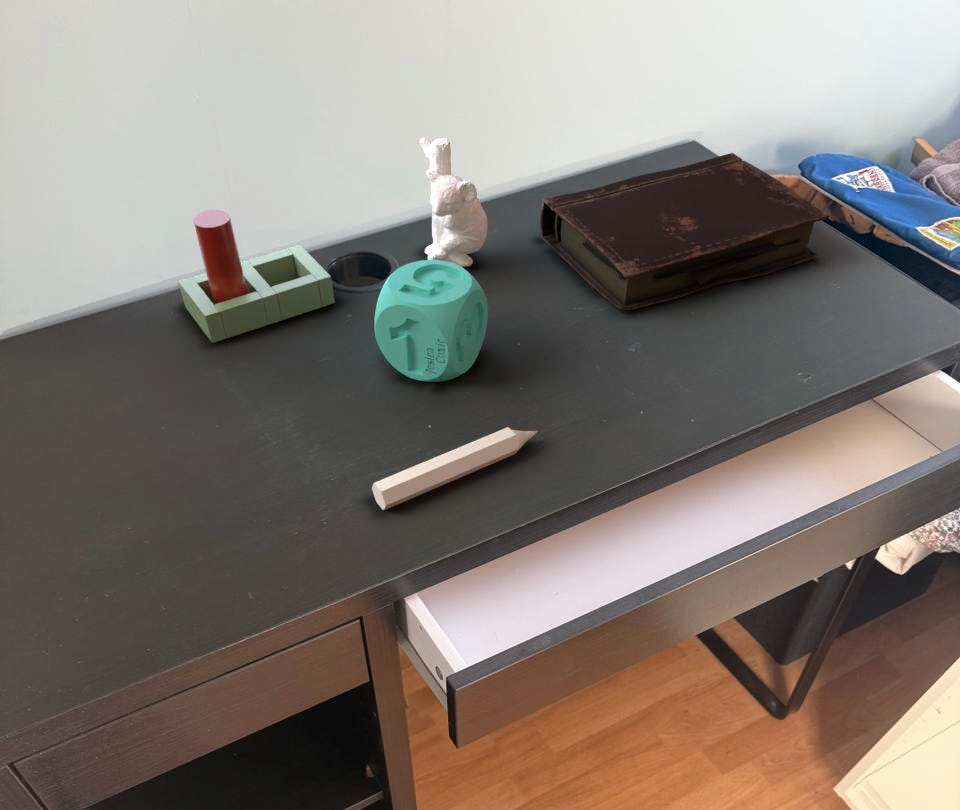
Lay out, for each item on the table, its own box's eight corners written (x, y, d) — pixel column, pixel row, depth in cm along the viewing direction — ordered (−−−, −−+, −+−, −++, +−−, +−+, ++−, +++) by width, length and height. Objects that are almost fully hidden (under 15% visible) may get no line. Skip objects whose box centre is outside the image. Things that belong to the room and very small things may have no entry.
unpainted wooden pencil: (538, 446, 81) (381, 513, 75) (527, 425, 81) (370, 491, 75) (548, 434, 78) (387, 502, 73) (537, 412, 78) (375, 479, 73)
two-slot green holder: (212, 343, 89) (204, 316, 87) (185, 307, 93) (177, 280, 91) (335, 303, 94) (331, 276, 91) (304, 270, 98) (300, 244, 95)
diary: (537, 237, 102) (539, 192, 98) (720, 190, 108) (729, 146, 104) (624, 321, 91) (631, 275, 87) (821, 263, 98) (835, 218, 94)
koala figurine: (405, 252, 100) (397, 138, 90) (457, 236, 102) (454, 122, 93) (444, 287, 95) (440, 171, 86) (498, 269, 98) (499, 154, 88)
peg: (210, 319, 92) (185, 223, 84) (229, 302, 94) (206, 206, 86) (239, 327, 91) (216, 230, 83) (258, 309, 93) (237, 213, 85)
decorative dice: (377, 369, 86) (369, 292, 80) (417, 327, 91) (412, 251, 85) (451, 392, 84) (449, 315, 78) (488, 347, 89) (489, 270, 82)
